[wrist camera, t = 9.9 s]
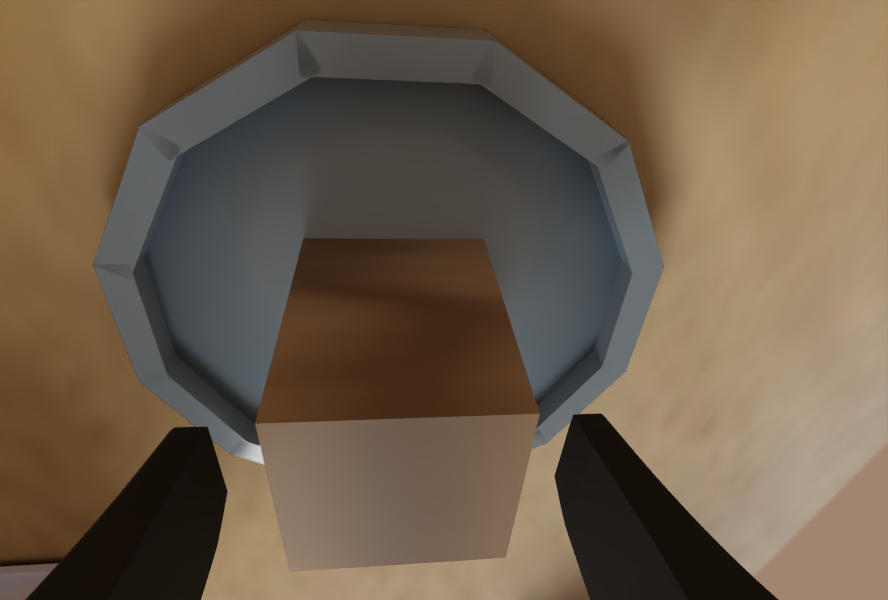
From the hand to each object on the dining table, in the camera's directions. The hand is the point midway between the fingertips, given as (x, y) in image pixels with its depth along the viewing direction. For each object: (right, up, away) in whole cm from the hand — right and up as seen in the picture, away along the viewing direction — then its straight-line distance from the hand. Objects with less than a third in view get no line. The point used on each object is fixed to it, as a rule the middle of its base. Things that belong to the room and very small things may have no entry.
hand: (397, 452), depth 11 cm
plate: (0, +3, +4) cm, 6 cm away
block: (0, +3, +4) cm, 5 cm away
